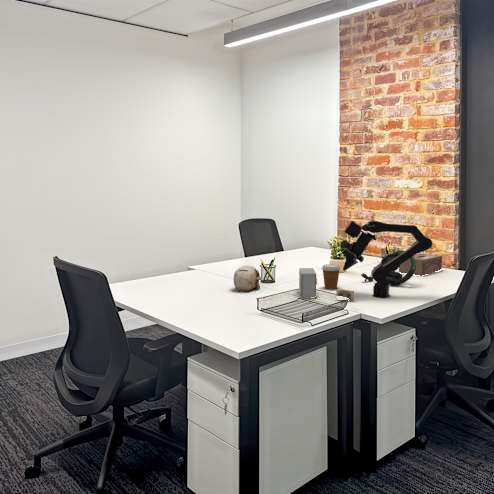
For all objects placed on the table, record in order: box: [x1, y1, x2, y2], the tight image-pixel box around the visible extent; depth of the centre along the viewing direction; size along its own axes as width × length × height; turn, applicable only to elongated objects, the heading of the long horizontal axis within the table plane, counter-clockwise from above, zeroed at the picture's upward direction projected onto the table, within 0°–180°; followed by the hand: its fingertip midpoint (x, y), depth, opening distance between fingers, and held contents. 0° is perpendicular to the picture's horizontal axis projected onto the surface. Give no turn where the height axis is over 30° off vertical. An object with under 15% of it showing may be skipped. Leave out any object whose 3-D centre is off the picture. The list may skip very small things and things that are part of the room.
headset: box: [360, 250, 416, 286], centre depth 282 cm, size 18×14×29 cm
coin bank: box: [233, 265, 262, 292], centre depth 272 cm, size 16×17×13 cm
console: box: [298, 267, 317, 299], centre depth 258 cm, size 8×16×12 cm, turn 178°
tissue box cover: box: [398, 252, 443, 276], centre depth 318 cm, size 26×14×10 cm, turn 135°
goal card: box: [335, 288, 355, 303], centre depth 244 cm, size 8×1×5 cm, turn 63°
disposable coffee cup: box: [321, 263, 341, 290], centre depth 273 cm, size 10×10×12 cm
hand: (343, 270), depth 255 cm, fingers closed
